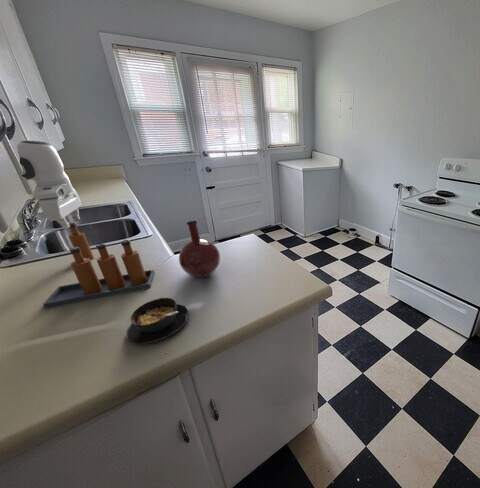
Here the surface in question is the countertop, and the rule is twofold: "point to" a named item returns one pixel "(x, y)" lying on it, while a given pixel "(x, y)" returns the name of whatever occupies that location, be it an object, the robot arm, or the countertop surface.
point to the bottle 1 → (85, 273)
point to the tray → (76, 294)
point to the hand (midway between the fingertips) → (72, 224)
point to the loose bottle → (80, 241)
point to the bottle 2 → (109, 268)
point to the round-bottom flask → (198, 254)
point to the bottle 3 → (133, 264)
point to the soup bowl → (156, 320)
